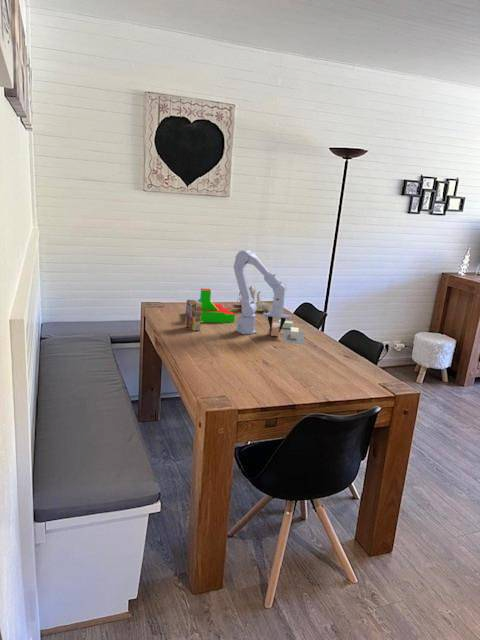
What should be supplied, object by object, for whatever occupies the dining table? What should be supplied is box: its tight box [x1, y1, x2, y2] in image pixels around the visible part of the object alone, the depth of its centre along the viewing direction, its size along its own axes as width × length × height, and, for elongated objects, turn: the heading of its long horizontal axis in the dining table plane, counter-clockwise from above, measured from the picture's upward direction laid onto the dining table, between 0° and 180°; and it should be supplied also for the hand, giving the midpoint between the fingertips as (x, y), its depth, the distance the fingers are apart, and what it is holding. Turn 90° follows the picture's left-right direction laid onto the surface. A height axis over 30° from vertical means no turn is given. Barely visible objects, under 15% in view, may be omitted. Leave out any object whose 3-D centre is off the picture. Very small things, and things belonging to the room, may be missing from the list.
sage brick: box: [277, 319, 294, 330], centre depth 269 cm, size 8×4×4 cm, turn 84°
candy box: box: [184, 298, 202, 332], centre depth 252 cm, size 9×4×15 cm, turn 39°
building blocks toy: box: [197, 287, 236, 324], centre depth 275 cm, size 19×25×18 cm
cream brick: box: [290, 326, 300, 339], centre depth 252 cm, size 8×4×4 cm, turn 174°
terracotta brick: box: [270, 323, 280, 337], centre depth 252 cm, size 8×4×4 cm, turn 174°
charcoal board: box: [282, 329, 306, 345], centre depth 253 cm, size 22×11×1 cm, turn 174°
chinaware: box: [236, 285, 273, 313], centre depth 303 cm, size 28×17×17 cm, turn 58°
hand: (275, 331), depth 252 cm, fingers closed on terracotta brick, 4 cm apart
